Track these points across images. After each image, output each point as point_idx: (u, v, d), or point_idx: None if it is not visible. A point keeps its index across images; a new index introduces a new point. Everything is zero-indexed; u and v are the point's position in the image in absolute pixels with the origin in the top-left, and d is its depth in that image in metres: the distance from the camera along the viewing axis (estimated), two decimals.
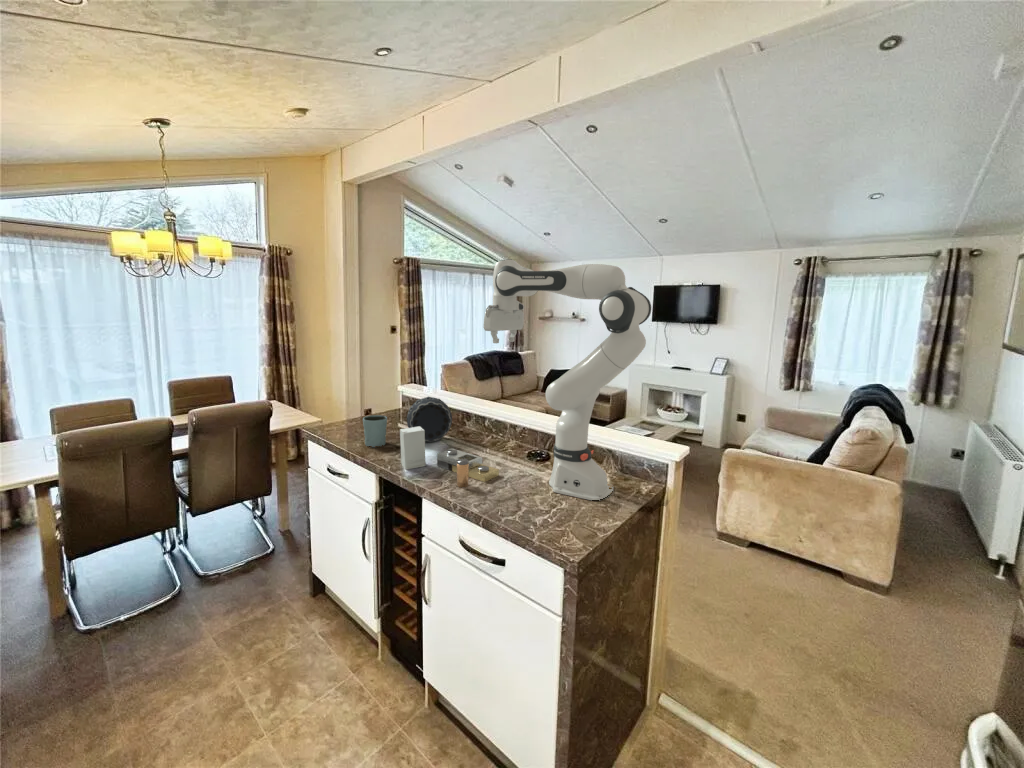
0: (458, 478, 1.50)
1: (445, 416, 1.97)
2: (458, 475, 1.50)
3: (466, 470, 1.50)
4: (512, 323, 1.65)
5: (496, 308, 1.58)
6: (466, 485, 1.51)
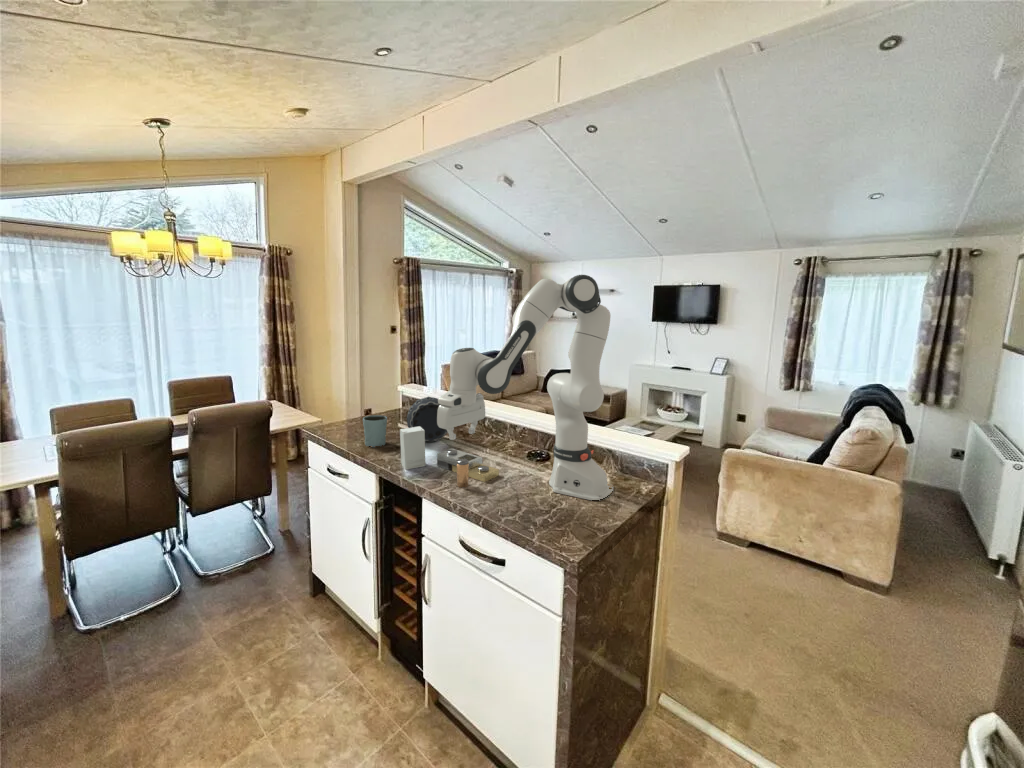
0: (458, 478, 1.50)
1: None
2: (458, 475, 1.50)
3: (466, 470, 1.50)
4: None
5: None
6: (466, 485, 1.51)
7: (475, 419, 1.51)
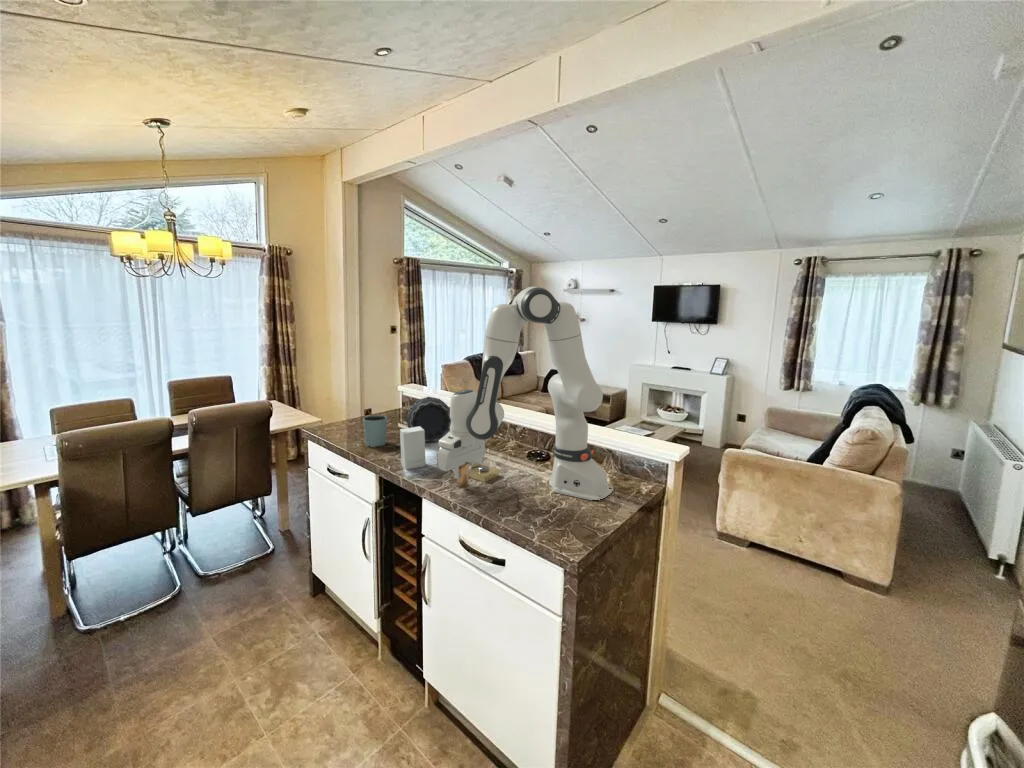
0: (458, 478, 1.50)
1: (445, 416, 1.97)
2: None
3: (466, 470, 1.50)
4: None
5: None
6: (466, 485, 1.51)
7: (475, 458, 1.53)
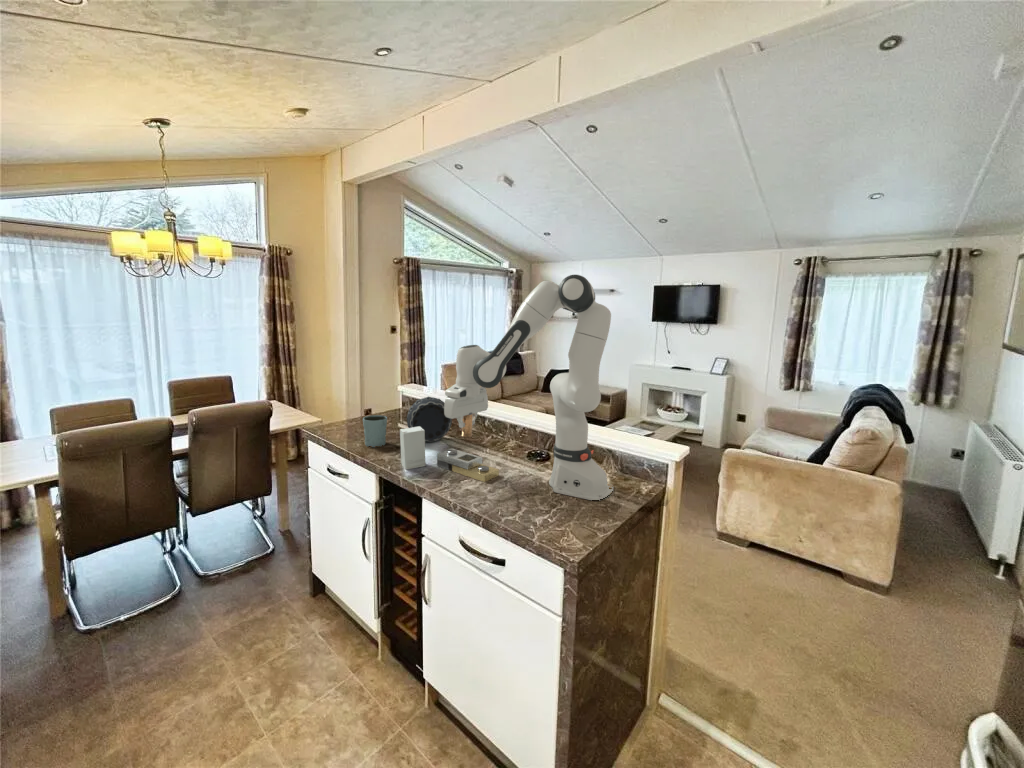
0: (462, 428, 1.61)
1: (445, 416, 1.97)
2: None
3: (470, 420, 1.61)
4: None
5: None
6: (470, 434, 1.62)
7: (479, 410, 1.64)
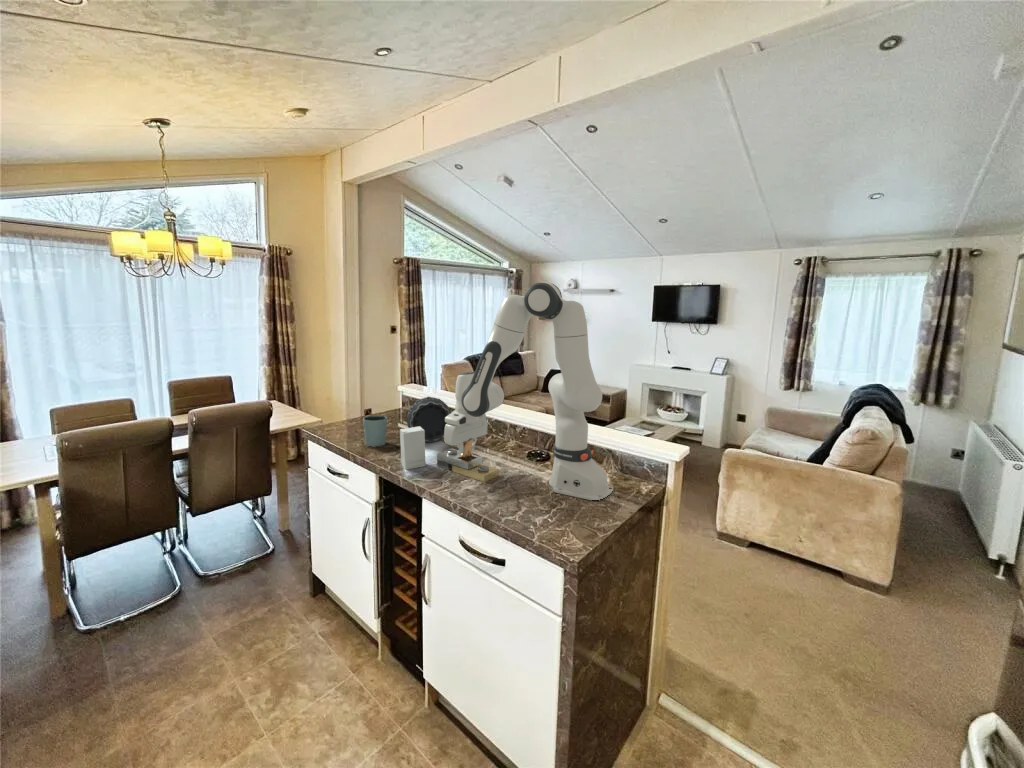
0: (462, 453, 1.63)
1: (445, 416, 1.97)
2: None
3: (470, 446, 1.62)
4: None
5: None
6: None
7: (478, 435, 1.66)
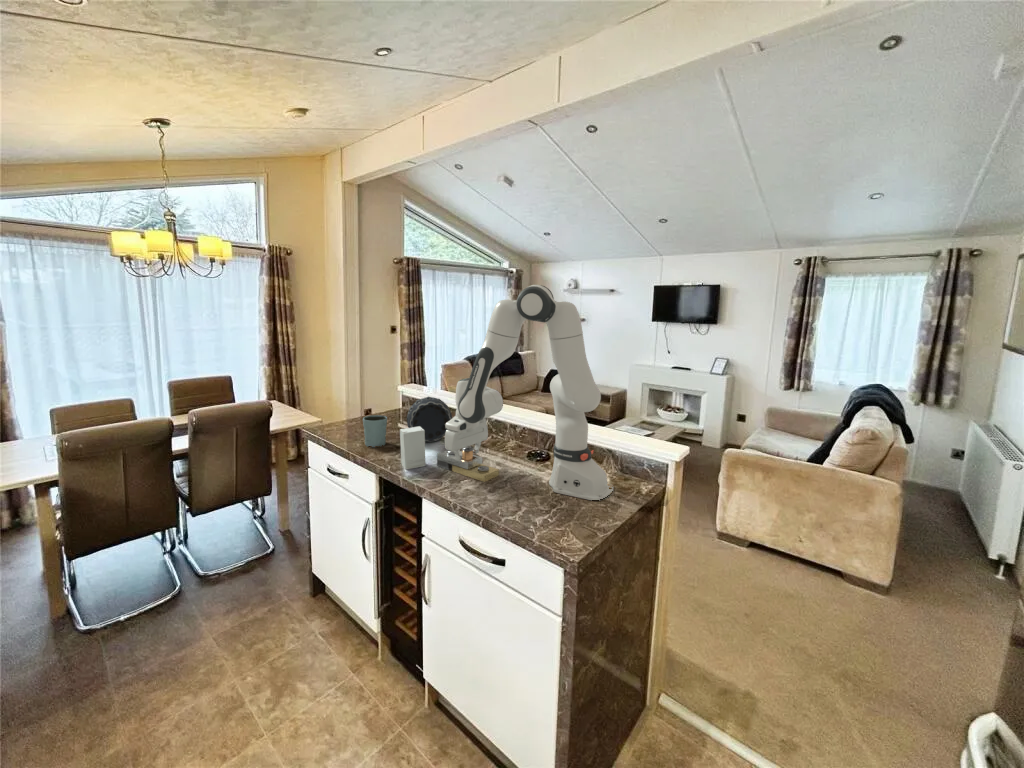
0: None
1: (445, 416, 1.97)
2: None
3: (471, 456, 1.63)
4: None
5: None
6: None
7: (479, 441, 1.66)
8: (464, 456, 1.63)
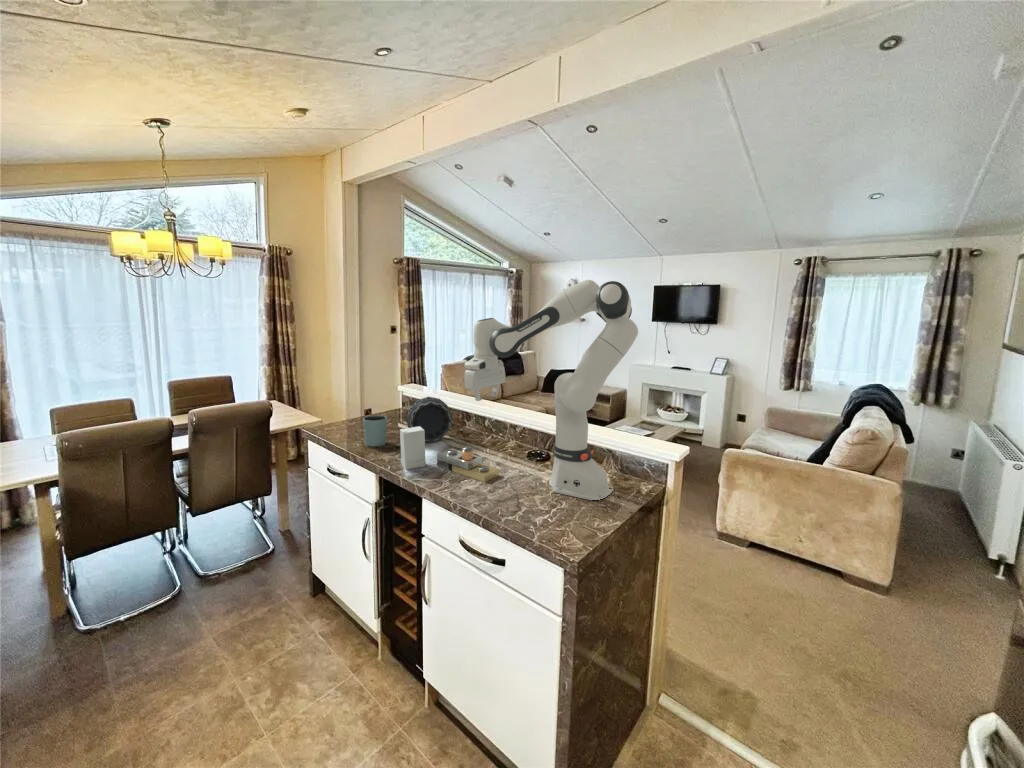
0: None
1: (445, 416, 1.97)
2: None
3: (471, 456, 1.63)
4: None
5: None
6: None
7: (497, 383, 1.68)
8: (464, 456, 1.63)
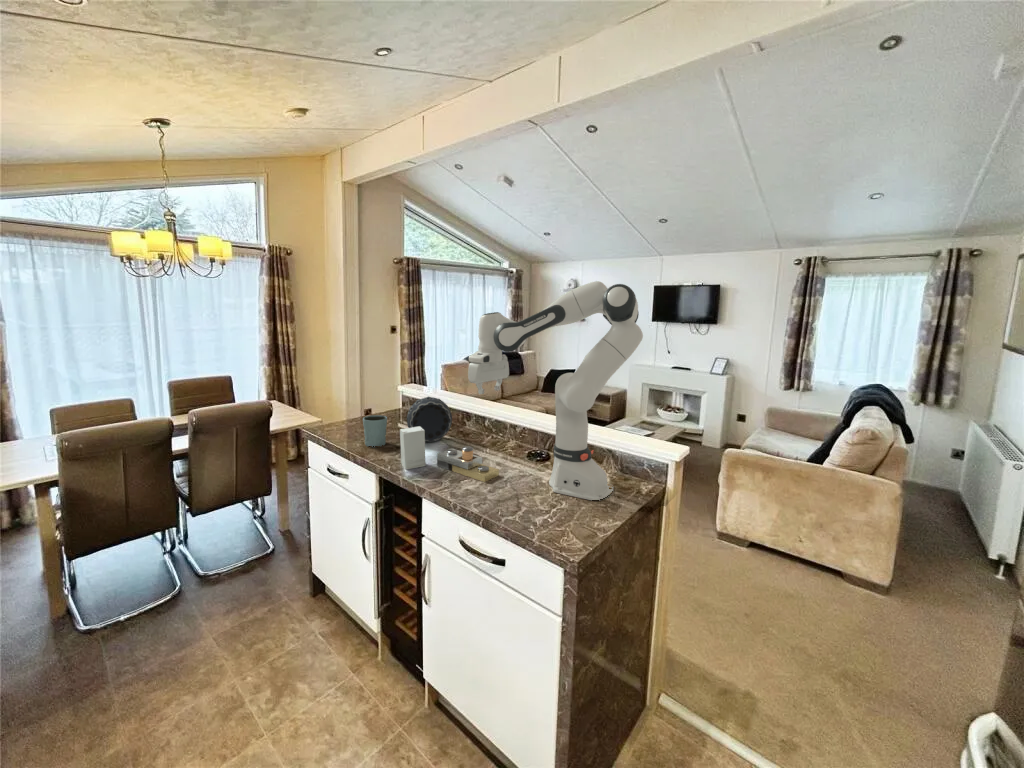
0: None
1: (445, 416, 1.97)
2: None
3: (471, 456, 1.63)
4: None
5: None
6: None
7: (500, 377, 1.69)
8: (464, 456, 1.63)
